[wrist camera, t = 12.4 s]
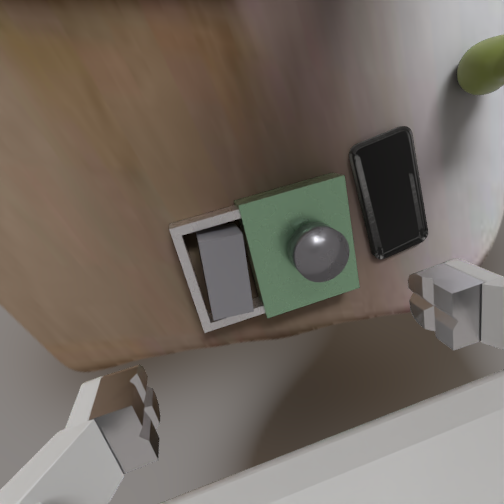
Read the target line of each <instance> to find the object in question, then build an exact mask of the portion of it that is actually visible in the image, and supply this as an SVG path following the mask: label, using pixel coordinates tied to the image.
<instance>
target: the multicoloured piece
mask: <svg viewBox="0 0 504 504" xmlns="http://www.w3.org/2000/svg"><path fill="white" fill-rule="evenodd" d="M234 204H235V205H233V206H229V207H226V208H222V209H219V210H215V211H212V212H208V213H205V214H201V215H198V216H194V217H191V218H187V219H184V220H180V221H177V222H173V223H170V224H169V230H170V233H171V236H172V239H173V242H174V245H175V248H176V251H177V254H178V257H179V260H180V262H181V265H182V268H183V271H184V274H185V277H186V280H187V283H188V286H189V289H190V292H191V295H192V298H193V300H194V303H195V306H196V309H197V312H198V315H199V318H200V321H201V324H202V327H203V330H204V333H206V332H209V331H212V330H215V329H218V328H221V327H224V326H227V325H231V324H234V323H237V322H240V321H243V320H246V319H249V318H252V317H255V316H258V315H261V314H264V313H265V315H266V317H267V318H270V317H273V316H276V315H279V314H282V313H285V312H288V311H291V310H294V309H297V308H300V307H303V306H306V305H309V304H312V303H315V302H318V301H321V300H324V299H327V298H330V297H333V296H336V295H339V294H342V293H345V292H348V291H351V290H354V289H357V288H360V287H359V279H358V272H357V264H356V257H355V249H354V242H353V235H352V227H351V220H350V212H349V205H348V197H347V190H346V182H345V175H341V174H337V173H329V174H326V175H322V176H319V177H315V178H311V179H308V180H304V181H301V182H297V183H294V184H290V185H287V186H283V187H280V188H276V189H273V190H269V191H266V192H262V193H259V194H255V195H252V196H248V197H245V198H241V199H238V200H234ZM237 219H239V223H240V227H241V231H242V234H243V238H244V242H245V246H246V250H247V254H248V258H249V261H250V265H251V269H252V273H253V277H254V281H255V285H256V288H257V292H258V296H259V297H256V298H253V299H252V301H253V308H254V312H249V313H245V314H241V315H236V316H232V317H228V318H223V319H219V320H215V321H214V320H213V315H212V312H210V313H208V310H207V307H206V304H205V301H204V298H203V295H202V292H201V289H200V286H199V283H198V280H197V277H196V274H195V270H194V267H193V264H192V261H191V258H190V255H189V252H188V249H187V246H186V243H185V240H184V237H183V235H185V234H189V233H192V232H196V231H199V230H202V229H206V228H209V227H213V226H216V225H220V224H223V223H226V222H230V221H233V220H237Z"/></svg>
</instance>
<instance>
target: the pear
mask: <svg viewBox="0 0 504 504" xmlns="http://www.w3.org/2000/svg"><path fill="white" fill-rule="evenodd" d="M457 79H458V82H459V84H460V86H461V87H462V89H463V90H464V91H466V92H467V93H470V94H473V95H484V94H488V93H491V92H494V91H496V90H497V89H499V88H500V87H501V86H503V85H504V35H499V36H496V37H492V38H489V39H486V40H483V41H481V42H479V43H477V44H476V45H474V46H473V47H471V48H470V49H469V50H468V51H467V52H466V53H465V54H464V56H463V57H462V59H461V60H460V62H459V65H458V69H457Z"/></svg>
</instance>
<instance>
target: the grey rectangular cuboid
mask: <svg viewBox="0 0 504 504" xmlns="http://www.w3.org/2000/svg"><path fill="white" fill-rule="evenodd" d="M196 236H197V241H198V246H199V251H200V256H201V261H202V266H203V271H204V276H205V282H206V287H207V292H208V297H209V302H210V306H211V311H212V315H213V320H214V321H215V320H219V319H223V318H228V317H232V316H236V315H241V314H245V313H249V312H254V308H253V301H252V295H251V288H250V281H249V274H248V267H247V260H246V254H245V247H244V240H243V234H242V232H241V231H240V230H239V228H238V227H237V226H236V224H235V223H231V224H226V225H220V226H215V227H209V228H206V229H202V230H199V231H196Z"/></svg>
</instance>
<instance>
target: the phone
mask: <svg viewBox="0 0 504 504" xmlns="http://www.w3.org/2000/svg"><path fill="white" fill-rule="evenodd" d="M349 158H350V163H351V167H352V171H353V175H354V180H355V184H356V188H357V192H358V197H359V201H360V205H361V209H362V213H363V218H364V222H365V226H366V230H367V235H368V239H369V243H370V247H371V252H372V254H373V255H374V256H375V257H377V258H378V259H385V258H387V257H389V256H391V255H394V254H396V253H398V252H400V251H403V250H405V249H407V248H409V247H412V246H414V245H416V244H418V243H421V242H422V241H424V240H425V239H426V237H427V235H428V228H427V221H426V215H425V209H424V203H423V197H422V191H421V184H420V178H419V172H418V166H417V160H416V153H415V147H414V141H413V135H412V131H411V129H410V128H408V127H406V126H401V127H397V128H394V129H392V130H390V131H387V132H385V133H382V134H380V135H377V136H375V137H372V138H370V139H368V140H365V141H363V142H360V143H358V144H356V145H354V146H353V147H352V148H351V150H350V152H349Z"/></svg>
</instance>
